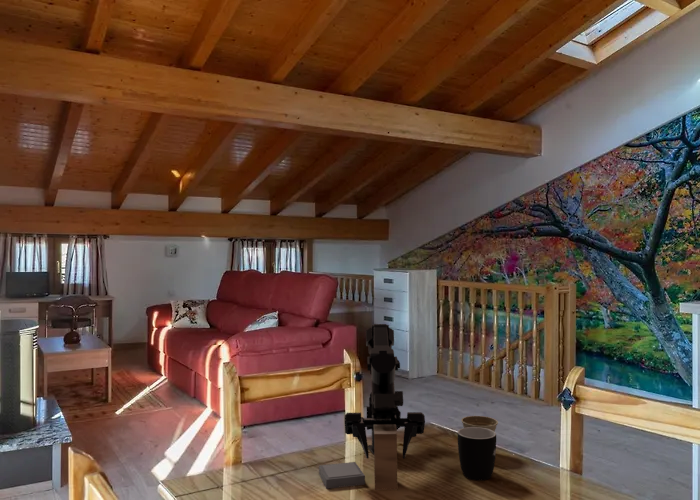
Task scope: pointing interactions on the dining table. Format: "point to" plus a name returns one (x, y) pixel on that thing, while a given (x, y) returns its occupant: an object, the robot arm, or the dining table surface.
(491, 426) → the flower pot
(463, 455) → the mug
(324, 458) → the dining table surface
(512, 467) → the dining table surface
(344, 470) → the slate base
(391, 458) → the brown tall rectangular block
